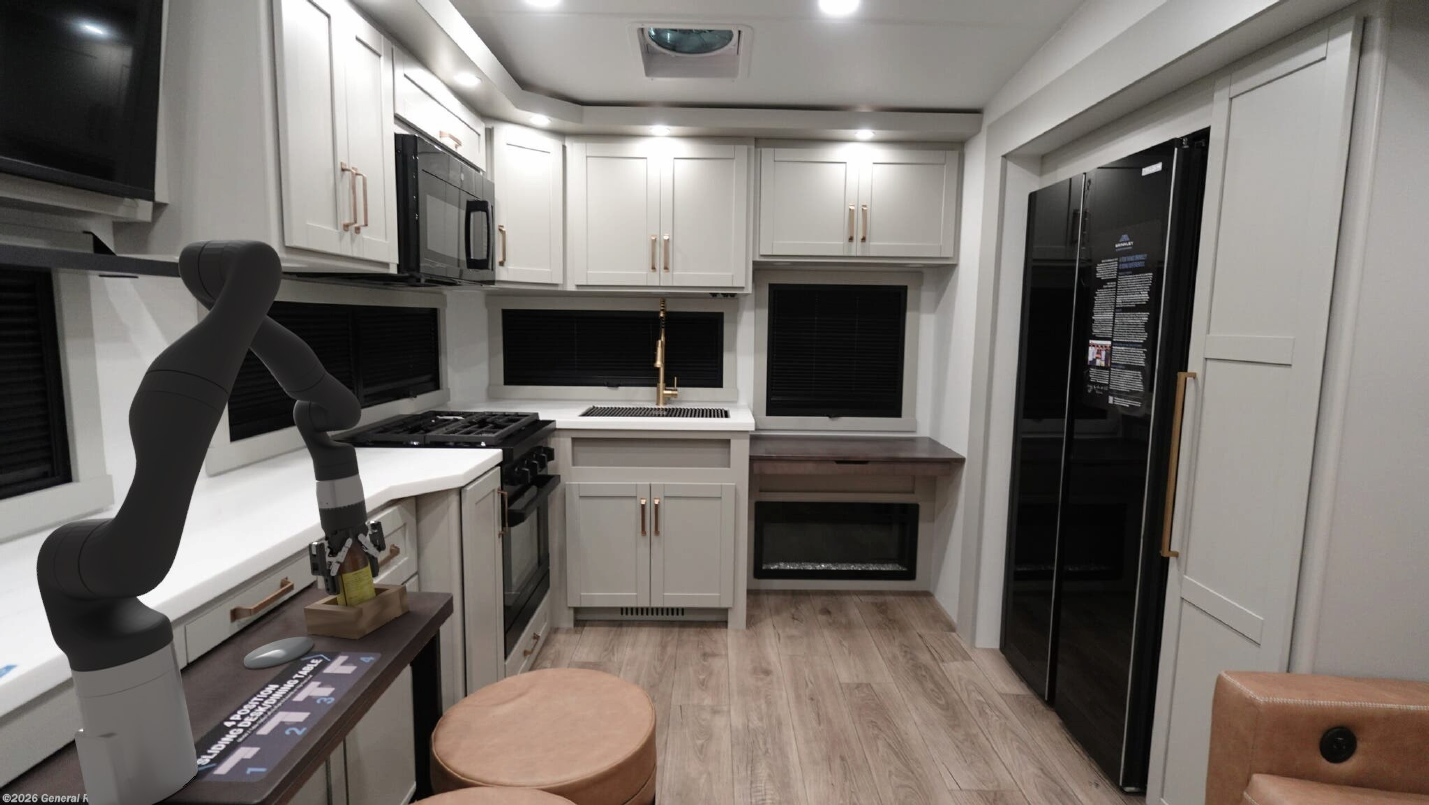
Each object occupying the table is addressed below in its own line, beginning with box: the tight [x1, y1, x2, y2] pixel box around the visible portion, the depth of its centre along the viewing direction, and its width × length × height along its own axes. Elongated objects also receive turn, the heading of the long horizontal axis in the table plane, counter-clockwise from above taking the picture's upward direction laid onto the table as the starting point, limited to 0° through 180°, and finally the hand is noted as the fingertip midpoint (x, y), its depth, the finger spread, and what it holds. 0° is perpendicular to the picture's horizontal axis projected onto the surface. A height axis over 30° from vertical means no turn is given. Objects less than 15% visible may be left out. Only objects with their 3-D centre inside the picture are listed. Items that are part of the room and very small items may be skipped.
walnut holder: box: [303, 582, 410, 640], centre depth 125 cm, size 12×12×5 cm
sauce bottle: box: [331, 528, 376, 607], centre depth 124 cm, size 6×6×20 cm
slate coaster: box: [243, 636, 314, 670], centre depth 115 cm, size 10×10×1 cm
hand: (354, 585), depth 125 cm, fingers open, 8 cm apart
